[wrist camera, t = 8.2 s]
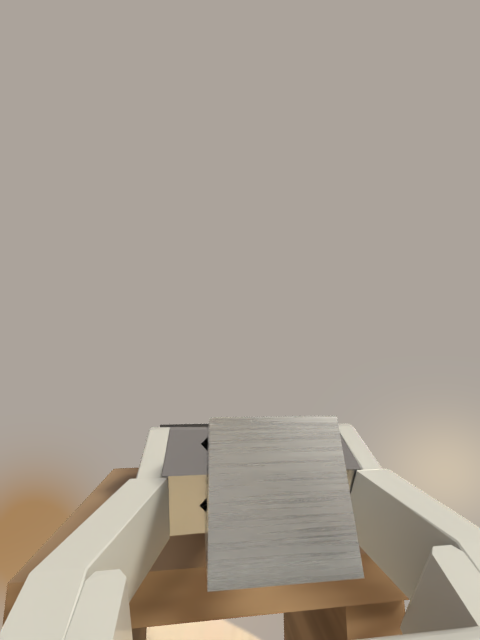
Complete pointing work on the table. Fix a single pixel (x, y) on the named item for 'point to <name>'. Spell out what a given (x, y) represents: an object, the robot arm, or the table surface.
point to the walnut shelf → (199, 605)
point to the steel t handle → (277, 503)
